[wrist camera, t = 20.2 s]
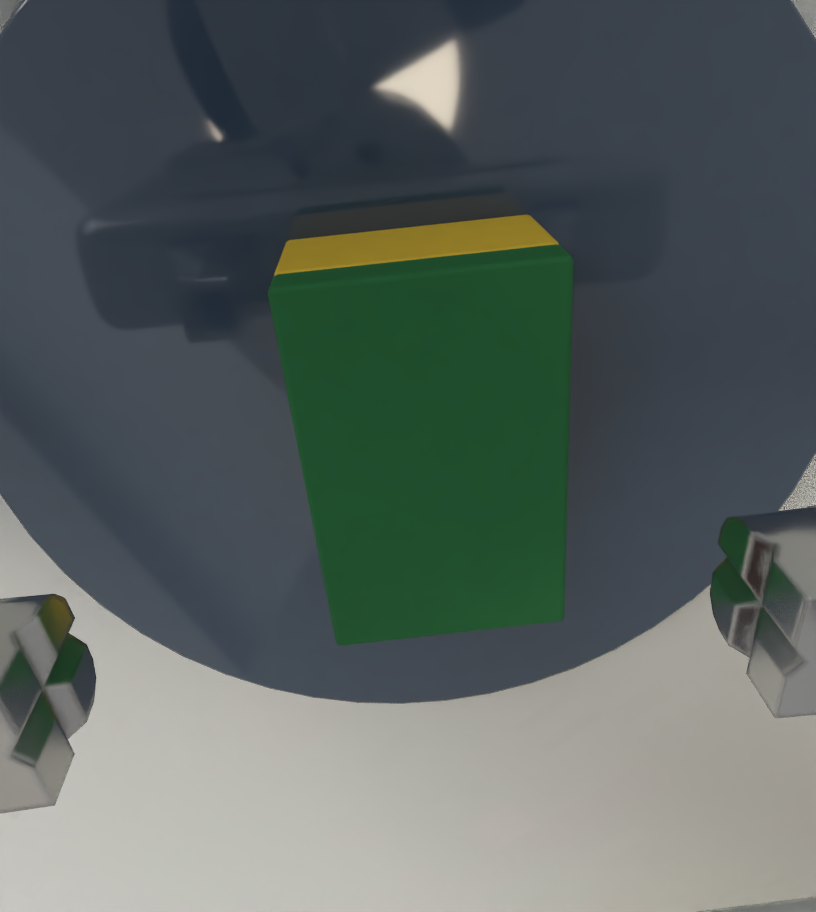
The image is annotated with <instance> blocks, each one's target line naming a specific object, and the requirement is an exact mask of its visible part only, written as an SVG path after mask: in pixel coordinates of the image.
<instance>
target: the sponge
mask: <svg viewBox="0 0 816 912" xmlns="http://www.w3.org/2000/svg"><path fill="white" fill-rule="evenodd" d="M573 265H574V260H573V258H572V256H571V255H570V254H569V253H568V252H567V251H566V250H565V249H564V248H563V247H562V246H561V245H559V243H558V242H557V241H556V240H555V239H554V238H553V237H552V236H551V235H550V234H549V233H548V232H547V231H546V230H545V229H544V228H543V227H542V226H541V225H540V224H538V223H537V222H536V221H535V220H534V219H533V218H532V217H531V216H530V215H518V216H508V217H499V218H490V219H480V220H471V221H462V222H453V223H443V224H434V225H425V226H415V227H406V228H397V229H388V230H378V231H369V232H360V233H350V234H341V235H332V236H323V237H313V238H304V239H295V240H289V241H287V242H286V244H285V247H284V249H283V252H282V255H281V257H280V260H279V263H278V265H277V268H276V271H275V273H274V277H273V279H272V281H271V284H270V287H269V290H268V298H269V303H270V308H271V313H272V318H273V323H274V329H275V334H276V339H277V344H278V349H279V354H280V359H281V364H282V369H283V375H284V380H285V385H286V390H287V395H288V400H289V405H290V410H291V416H292V421H293V426H294V431H295V436H296V441H297V446H298V451H299V456H300V462H301V467H302V472H303V477H304V482H305V487H306V492H307V497H308V502H309V508H310V513H311V518H312V523H313V528H314V533H315V538H316V543H317V548H318V554H319V559H320V564H321V569H322V574H323V579H324V584H325V589H326V594H327V600H328V605H329V610H330V615H331V620H332V625H333V630H334V635H335V640H336V643H337V644H338V645H340V646H344V645H353V644H362V643H371V642H380V641H389V640H398V639H407V638H416V637H425V636H434V635H443V634H452V633H461V632H470V631H479V630H488V629H497V628H506V627H515V626H524V625H533V624H542V623H551V622H560V621H562V620H563V619H564V607H565V569H566V531H567V493H568V455H569V417H570V379H571V341H572V303H573Z"/></svg>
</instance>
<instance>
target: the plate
mask: <svg viewBox="0 0 816 912" xmlns="http://www.w3.org/2000/svg"><path fill="white" fill-rule="evenodd" d="M518 215H530V216H531V217H532V218H533V219H534V220H535V221H536V222H537V223H538V224H540V225H541V226H542V227H543V228H544V229H545V230H546V231H547V232H548V233H549V234H550V235H551V236H552V237H553V238H554V239H555V240H556V241H557V242H558V243H559V245H561V246H562V247H563V248H564V249H565V250H566V251H567V252H568V253H569V254H570V255H571V256H572V258H573V260H574V265H573V303H572V341H571V379H570V417H569V455H568V493H567V531H566V569H565V607H564V619H563V620H562V621H560V622H551V623H542V624H533V625H524V626H515V627H506V628H497V629H488V630H479V631H470V632H461V633H452V634H443V635H434V636H425V637H416V638H407V639H398V640H389V641H380V642H371V643H362V644H353V645H344V646H340V645H338V644H337V643H336V640H335V635H334V630H333V625H332V620H331V615H330V610H329V605H328V600H327V594H326V589H325V584H324V579H323V574H322V569H321V564H320V559H319V554H318V548H317V543H316V538H315V533H314V528H313V523H312V518H311V513H310V508H309V502H308V497H307V492H306V487H305V482H304V477H303V472H302V467H301V462H300V456H299V451H298V446H297V441H296V436H295V431H294V426H293V421H292V416H291V410H290V405H289V400H288V395H287V390H286V385H285V380H284V375H283V369H282V364H281V359H280V354H279V349H278V344H277V339H276V334H275V329H274V323H273V318H272V313H271V308H270V303H269V298H268V290H269V287H270V284H271V281H272V279H273V277H274V273H275V271H276V268H277V265H278V263H279V260H280V257H281V255H282V252H283V249H284V247H285V244H286V242H287V241H289V240H295V239H304V238H313V237H323V236H332V235H341V234H350V233H360V232H369V231H378V230H388V229H397V228H406V227H415V226H425V225H434V224H443V223H453V222H462V221H471V220H480V219H490V218H499V217H508V216H518ZM815 454H816V38H815V37H814V35H813V34H812V32H811V31H810V29H809V27H808V26H807V24H806V23H805V21H804V19H803V18H802V16H801V15H800V13H799V12H798V10H797V8H796V7H795V5H794V4H793V2H792V1H791V0H22V1H21V2H20V3H19V4H18V5H17V6H16V8H15V9H14V11H13V13H12V14H11V16H10V18H9V20H8V21H7V23H6V25H5V26H4V28H3V30H2V32H1V33H0V495H1V496H2V497H3V499H4V500H5V502H6V503H7V504H8V506H9V507H10V509H11V510H12V511H13V513H14V514H15V516H16V517H17V518H18V520H19V521H20V523H21V524H22V525H23V527H24V528H25V530H26V531H27V532H28V534H29V535H30V536H31V537H32V539H33V540H34V541H35V542H36V543H37V544H38V545H39V546H40V547H41V548H42V549H43V551H44V552H45V553H46V554H47V555H48V556H49V557H50V558H51V559H52V560H53V561H54V563H55V564H56V565H57V566H58V567H59V568H60V569H61V570H62V571H63V572H64V574H66V575H67V576H68V577H69V578H70V579H71V580H73V581H74V582H75V583H76V584H77V585H78V586H79V587H81V588H82V589H83V590H84V591H85V592H86V593H87V594H89V595H90V596H91V597H92V598H93V599H94V600H95V601H97V602H98V603H99V604H100V605H101V606H102V607H104V608H105V609H107V610H108V611H110V612H111V613H113V614H114V615H115V616H117V617H118V618H120V619H121V620H123V621H124V622H125V623H127V624H128V625H130V626H131V627H133V628H134V629H136V630H137V631H138V632H140V633H141V634H143V635H145V636H147V637H148V638H150V639H152V640H154V641H156V642H158V643H159V644H161V645H163V646H165V647H167V648H169V649H170V650H172V651H174V652H176V653H178V654H179V655H181V656H183V657H185V658H188V659H190V660H192V661H195V662H197V663H200V664H202V665H204V666H207V667H209V668H211V669H214V670H216V671H218V672H221V673H223V674H225V675H229V676H232V677H235V678H238V679H241V680H244V681H248V682H251V683H254V684H257V685H260V686H264V687H267V688H270V689H275V690H280V691H285V692H289V693H294V694H299V695H304V696H308V697H313V698H321V699H330V700H339V701H347V702H356V703H393V704H405V703H420V702H434V701H447V700H454V699H460V698H466V697H472V696H479V695H485V694H491V693H495V692H499V691H503V690H506V689H510V688H514V687H518V686H522V685H526V684H530V683H534V682H537V681H539V680H542V679H545V678H548V677H551V676H554V675H556V674H559V673H562V672H565V671H568V670H571V669H573V668H576V667H578V666H580V665H582V664H585V663H587V662H589V661H591V660H593V659H595V658H598V657H600V656H602V655H604V654H606V653H609V652H611V651H613V650H615V649H617V648H619V647H620V646H622V645H624V644H626V643H627V642H629V641H631V640H633V639H634V638H636V637H638V636H639V635H641V634H643V633H645V632H646V631H648V630H650V629H652V628H653V627H655V626H657V625H658V624H659V623H661V622H662V621H664V620H665V619H666V618H668V617H669V616H671V615H672V614H673V613H675V612H676V611H678V610H679V609H680V608H682V607H683V606H685V605H686V604H687V603H689V602H690V601H692V600H693V599H694V598H695V597H697V596H698V595H699V594H700V593H701V592H702V591H703V590H705V589H706V588H707V587H708V586H709V585H710V584H711V581H712V573H713V571H714V570H715V569H716V568H717V567H718V566H719V565H720V564H721V563H722V561H723V560H724V559H725V558H726V557H727V556H726V555H725V553H724V552H723V551H722V549H721V548H720V547H719V545H718V539H719V534H720V529H721V526H722V525H723V523H724V521H725V520H726V518H727V517H734V516H742V515H750V514H759V513H767V512H775V511H779V510H780V509H781V507H782V506H783V505H784V503H785V502H786V501H787V499H788V498H789V497H790V495H791V494H792V493H793V491H794V489H795V488H796V486H797V484H798V483H799V481H800V479H801V478H802V476H803V474H804V472H805V471H806V469H807V467H808V466H809V464H810V462H811V461H812V459H813V457H814V456H815Z"/></svg>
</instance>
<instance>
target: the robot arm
mask: <svg viewBox="0 0 816 912" xmlns="http://www.w3.org/2000/svg"><path fill="white" fill-rule="evenodd" d="M718 545H719V547H720V548H721V549H722V551H723V552H724V553H725V555H726V556H727V557H726V558H725V559H724V560H723V561H722V563H721V564H720V565H719V566H718V567H717V568H716V569H715V570H714V571H713V573H712V581H711V588H710V597H711V604H712V610H713V615H714V618H715V620H716V623H717V625H718V628H719V630H720V632H721V634H722V635H723V637H724V639H725V640H726V642H727V644H728V645H729V646H730V647H732V648H734V649H735V650H737V651H739V652H741V653H742V654H744V655H746V656H747V657H749V658H750V659H749V664H748V668H747V673H746V674H747V675H748V677H749V679H750V680H751V682H752V683H753V685H754V686H755V688H756V689H757V691H758V693H759V694H760V696H761V697H762V699H763V700H764V702H765V703H766V705H767V707H768V708H769V710H770V711H771V713H772V714H773V716H774V718H784V717H795V716H805V715H816V505H814V506H808V507H807V508H800V509H792V510H784V511H775V512H767V513H759V514H750V515H742V516H734V517H727V518H726V520H725V521H724V523H723V525H722V526H721V529H720V534H719V539H718ZM74 619H75V617H74V615H73V613H72V611H71V609H70V607H69V605H68V603H67V601H66V599H65V598H64V597H61V596H58V595H56V594H48V595H37V596H27V597H16V598H5V599H0V813H7V812H14V811H20V810H27V809H34V808H40V807H47V806H54V805H55V803H56V801H57V798H58V796H59V793H60V790H61V788H62V785H63V783H64V780H65V777H66V775H67V772H68V770H69V767H70V764H71V762H72V759H73V757H74V752H73V749H72V747H71V745H70V743H69V741H68V738H70V737H71V736H72V735H73V734H74V733H75V732H76V731H77V730H78V729H79V728H80V727H82V726H83V725H84V724H85V723H86V722H87V720H88V717H89V714H90V711H91V708H92V706H93V703H94V696H95V684H96V674H95V668H94V663H93V658H92V656H91V654H90V651H89V649H88V646H87V645H86V644H85V643H83V642H82V641H80V640H79V639H77V638H76V637H74V636H73V635H71V634H69V633H68V632H69V630H70V628H71V626H72V624H73V621H74ZM698 912H816V897H808V898H801V899H793V900H785V901H777V902H769V903H761V904H753V905H745V906H737V907H729V908H721V909H714V910H706V911H698Z"/></svg>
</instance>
